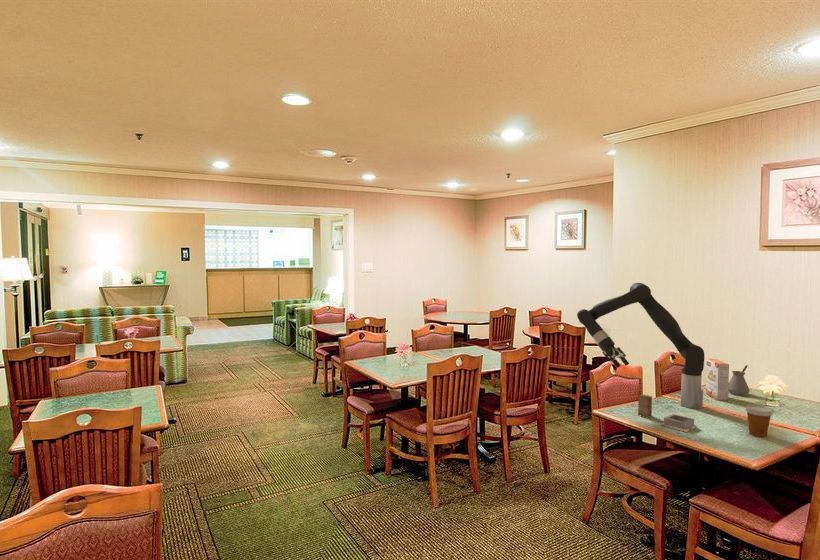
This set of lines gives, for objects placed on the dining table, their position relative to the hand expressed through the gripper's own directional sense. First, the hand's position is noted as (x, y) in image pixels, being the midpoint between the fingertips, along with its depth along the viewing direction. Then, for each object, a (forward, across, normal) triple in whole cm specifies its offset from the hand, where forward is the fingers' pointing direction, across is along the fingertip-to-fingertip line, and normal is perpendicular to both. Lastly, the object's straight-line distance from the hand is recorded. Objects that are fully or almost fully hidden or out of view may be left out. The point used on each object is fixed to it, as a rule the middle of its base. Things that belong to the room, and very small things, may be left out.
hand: (623, 365), depth 247 cm
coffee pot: (+34, +90, -1) cm, 96 cm away
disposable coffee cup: (+55, +14, -23) cm, 62 cm away
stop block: (+25, 0, +8) cm, 26 cm away
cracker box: (+31, +66, +2) cm, 73 cm away
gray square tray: (+37, -3, -4) cm, 37 cm away
